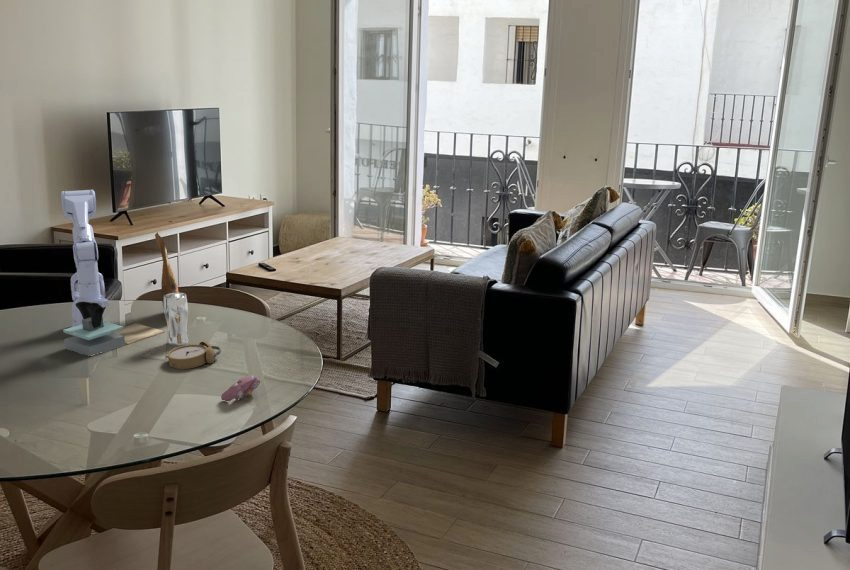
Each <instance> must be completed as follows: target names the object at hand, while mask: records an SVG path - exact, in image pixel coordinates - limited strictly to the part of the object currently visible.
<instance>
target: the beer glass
mask: <svg viewBox="0 0 850 570" xmlns="http://www.w3.org/2000/svg"><path fill="white" fill-rule="evenodd" d="M163 312H164V318H165V322H166V326H167V330H168V341H167V344H168V345H170V346H173V347H174V346H177V347H180V346H184V345H188V343H189V342H190V341H189V336H188V332H187V327H188V326H187V325H188V319H189V318H188V317H189V306H188V298H187V293H185V292H179V293H169V294H166V295H164V309H163Z"/></svg>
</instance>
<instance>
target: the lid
mask: <svg viewBox="0 0 850 570" xmlns="http://www.w3.org/2000/svg"><path fill="white" fill-rule="evenodd" d="M123 327H124V326H123V325H119V324H116V323H112V322H110V321H109V322H108V321H105V320H104V316H103V317H102V321H101V326H100V327H97V328H93V325H92V321H91V317H90V318H87V319H83V320H82V324H81V325H78V326H74V327H71V326H70V327H68V328H64V329H63V334H64V333H65V334H67V335H70V336H73V337H74V336H77V337H80V338H83V339H86V340H91V339H94V338H97V337H100V336H104V335H107V334H110V333H113V332H116V331H119V330H122V329H124V328H123Z"/></svg>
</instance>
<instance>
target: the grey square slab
mask: <svg viewBox="0 0 850 570" xmlns="http://www.w3.org/2000/svg"><path fill="white" fill-rule="evenodd" d="M124 346H126V344H125V338H124V336H122V335H119V334H115V333H110V334H107V335H104V336H100V337H97V338H94V339H91V340H86V339H83V338H80V337H77V336H74V335H73V336H70V337H67V338H64V348H65V350H68V351H70V352H73V351H74V352H73V353H76V352H77V353H76V354H79V355H83V354H85V355H84V356H86V355H89V356H91V355H93V354H97V353H100V352H104V353H106V352H105V351H107V352H110V351H112V350H115V349H119V348H121V347H124ZM89 356H88V357H89Z"/></svg>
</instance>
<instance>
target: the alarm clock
mask: <svg viewBox="0 0 850 570" xmlns="http://www.w3.org/2000/svg"><path fill="white" fill-rule="evenodd" d="M215 350H218V351H215ZM221 353H222V349H221V347H220V346H216V345H211V344H210V343H209V342H208V341H200V342H199V344H198V343H194V344H184V345H179V346H177V347H175V348H172V349H171V350H170V351H168V353H167V355H165V358H166V359H168V365H169V366H170V367H171V368H174V369H178V370H188V369H194V368H198V367H200V366H203V365H204V364H208V365H210V364H213V363H214V361H215V360H216V357H218V356H219V355H220V354H221Z"/></svg>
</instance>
